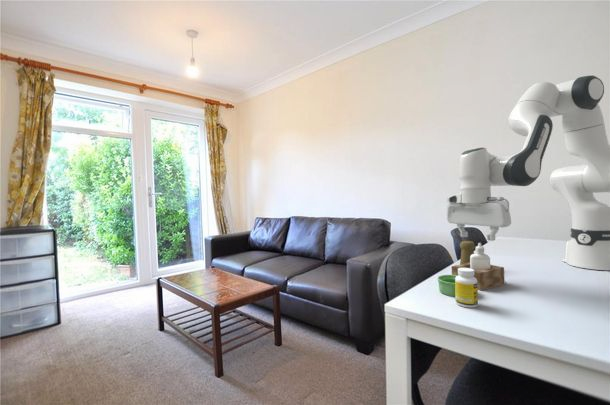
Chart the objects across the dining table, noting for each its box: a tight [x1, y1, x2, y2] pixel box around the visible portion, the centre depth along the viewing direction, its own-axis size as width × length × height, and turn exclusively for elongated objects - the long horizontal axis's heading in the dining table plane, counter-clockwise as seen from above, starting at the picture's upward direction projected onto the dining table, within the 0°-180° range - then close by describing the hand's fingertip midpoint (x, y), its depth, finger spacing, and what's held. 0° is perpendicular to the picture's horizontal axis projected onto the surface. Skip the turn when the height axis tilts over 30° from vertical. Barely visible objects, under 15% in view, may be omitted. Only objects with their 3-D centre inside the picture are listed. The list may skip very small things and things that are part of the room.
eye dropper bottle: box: [470, 242, 491, 271], centre depth 95 cm, size 4×6×12 cm
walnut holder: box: [451, 263, 505, 292], centre depth 96 cm, size 12×10×6 cm
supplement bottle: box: [454, 268, 479, 309], centre depth 79 cm, size 5×5×10 cm
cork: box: [459, 240, 476, 265], centre depth 113 cm, size 6×6×11 cm
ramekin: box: [437, 274, 458, 298], centre depth 88 cm, size 9×9×4 cm
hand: (477, 238), depth 95 cm, fingers open, 8 cm apart
